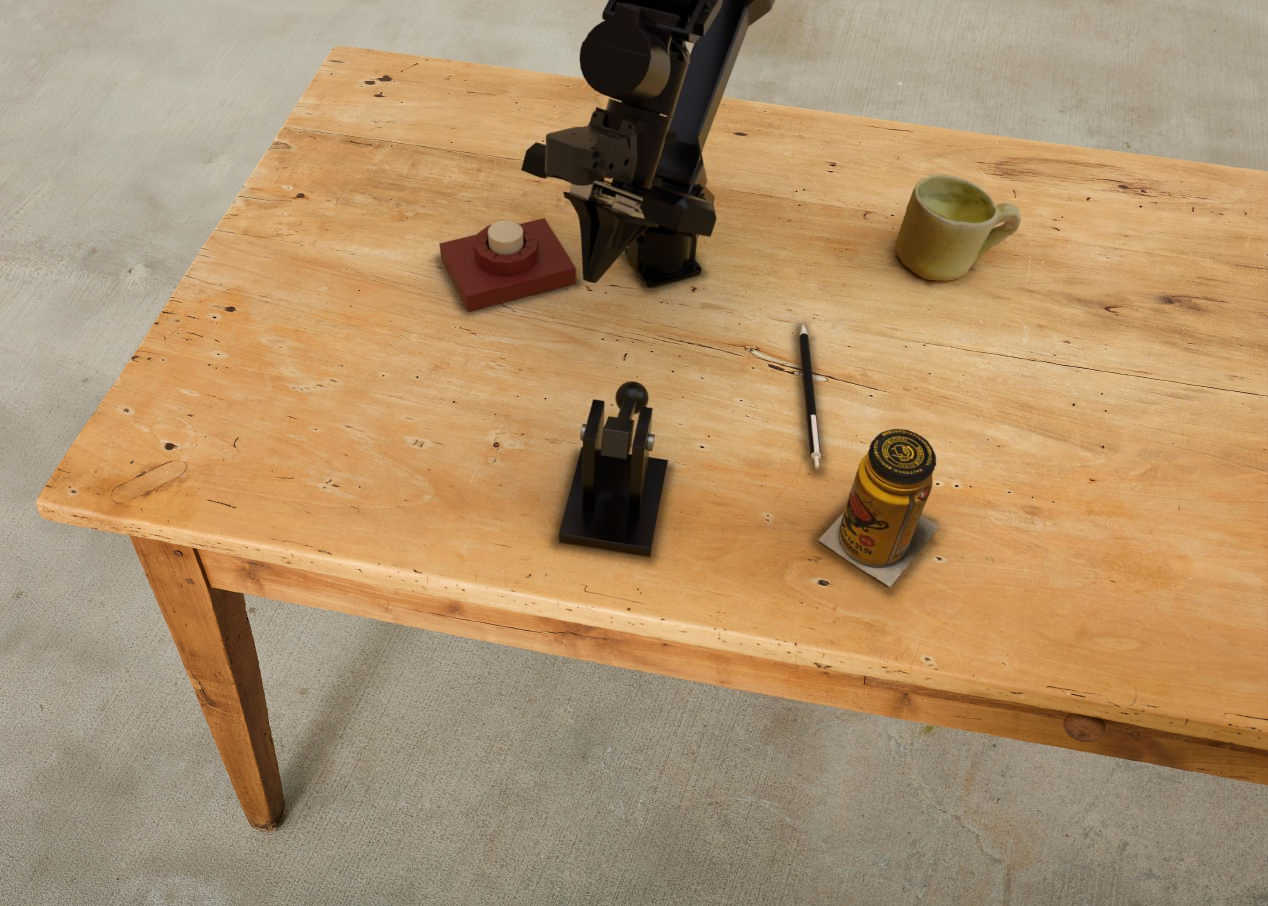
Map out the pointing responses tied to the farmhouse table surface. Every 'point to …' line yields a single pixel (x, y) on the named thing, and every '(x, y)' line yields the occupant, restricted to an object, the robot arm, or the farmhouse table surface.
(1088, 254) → the farmhouse table surface
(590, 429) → the lever bracket
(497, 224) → the button
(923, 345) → the farmhouse table surface
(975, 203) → the mug
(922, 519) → the condiment
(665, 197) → the robot arm
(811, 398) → the pen
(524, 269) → the button housing
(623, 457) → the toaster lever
